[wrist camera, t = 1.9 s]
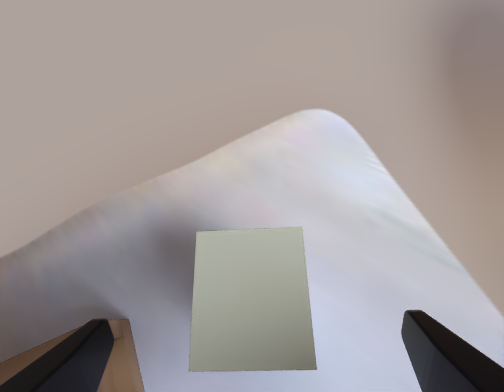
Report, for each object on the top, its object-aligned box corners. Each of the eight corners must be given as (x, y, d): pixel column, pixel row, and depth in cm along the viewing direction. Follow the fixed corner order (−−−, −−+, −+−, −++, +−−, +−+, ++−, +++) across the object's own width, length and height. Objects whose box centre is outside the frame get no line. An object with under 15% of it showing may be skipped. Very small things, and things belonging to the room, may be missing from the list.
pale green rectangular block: (295, 340, 17) (316, 369, 7) (236, 342, 17) (188, 372, 8) (289, 272, 18) (302, 226, 9) (236, 274, 18) (196, 231, 9)
